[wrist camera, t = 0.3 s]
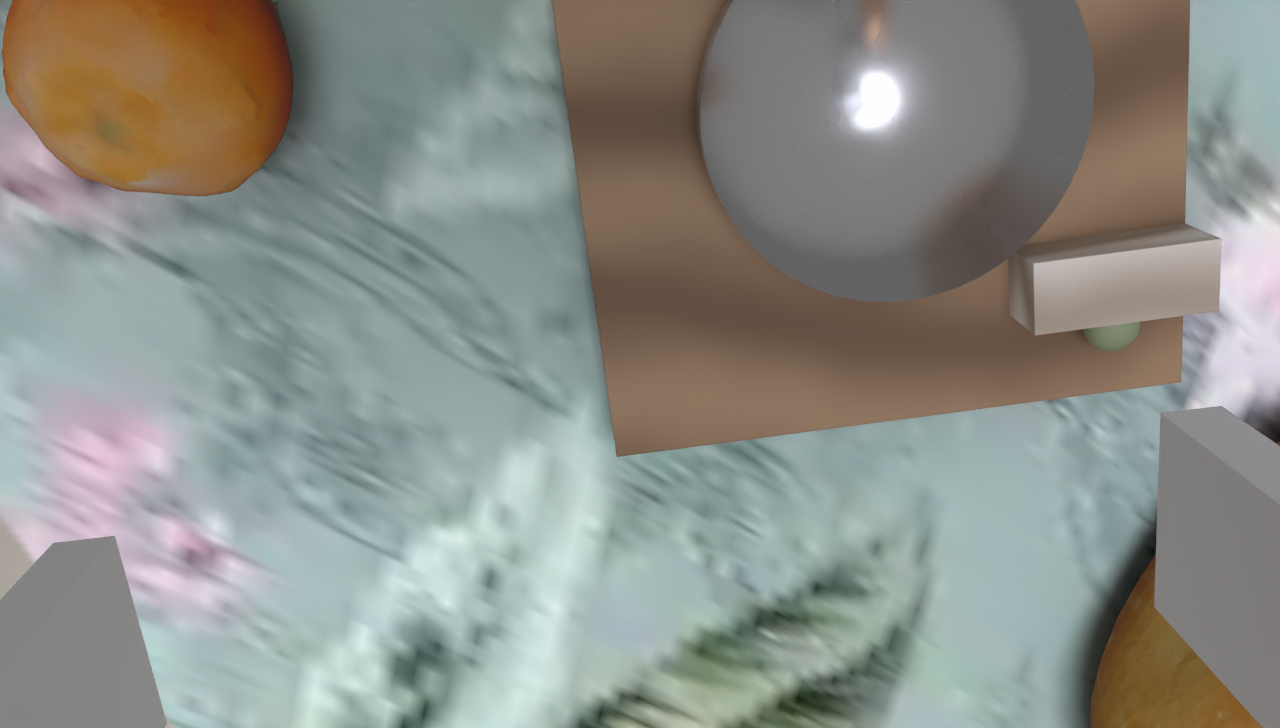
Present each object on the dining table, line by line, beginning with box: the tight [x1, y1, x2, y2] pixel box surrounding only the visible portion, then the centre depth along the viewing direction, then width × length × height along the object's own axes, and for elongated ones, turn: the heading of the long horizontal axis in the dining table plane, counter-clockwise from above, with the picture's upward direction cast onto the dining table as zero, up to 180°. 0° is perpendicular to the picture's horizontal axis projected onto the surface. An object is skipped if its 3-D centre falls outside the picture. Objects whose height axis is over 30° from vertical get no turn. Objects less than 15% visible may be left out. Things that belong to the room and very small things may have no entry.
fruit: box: [2, 0, 293, 196], centre depth 36 cm, size 8×8×8 cm
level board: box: [552, 0, 1221, 457], centre depth 38 cm, size 22×20×4 cm
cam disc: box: [695, 0, 1095, 302], centre depth 32 cm, size 16×12×11 cm
